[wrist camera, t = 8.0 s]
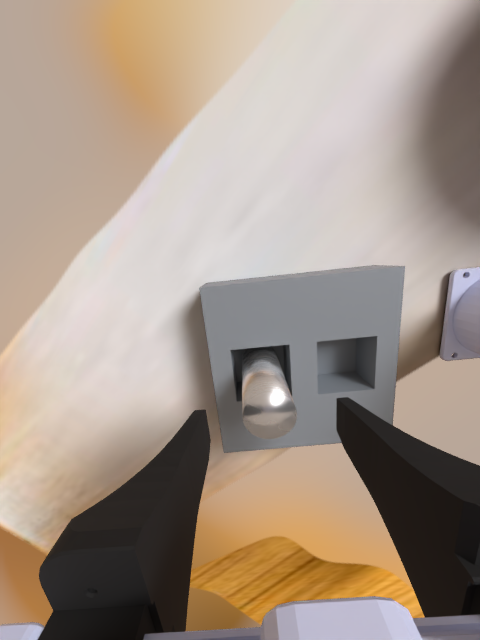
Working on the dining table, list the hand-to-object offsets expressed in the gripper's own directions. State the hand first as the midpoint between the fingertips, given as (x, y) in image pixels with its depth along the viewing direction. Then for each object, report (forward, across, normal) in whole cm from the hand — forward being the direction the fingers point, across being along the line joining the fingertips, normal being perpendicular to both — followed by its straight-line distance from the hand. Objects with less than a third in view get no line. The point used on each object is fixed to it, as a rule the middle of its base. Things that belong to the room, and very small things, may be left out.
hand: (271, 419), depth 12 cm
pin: (+8, 0, 0) cm, 8 cm away
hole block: (+9, -3, 0) cm, 9 cm away
